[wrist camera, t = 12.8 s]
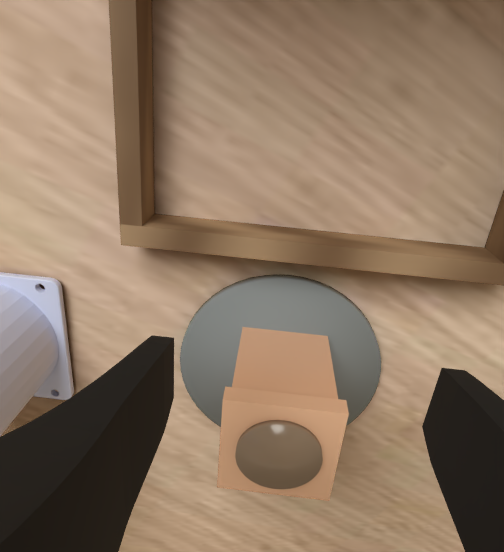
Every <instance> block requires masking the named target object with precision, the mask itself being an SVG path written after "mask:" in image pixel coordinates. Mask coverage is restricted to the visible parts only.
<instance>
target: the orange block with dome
mask: <svg viewBox="0 0 504 552" xmlns="http://www.w3.org/2000/svg"><path fill="white" fill-rule="evenodd" d="M348 416H349V412H348V407H347V401H346V400H341V399H338V394H337V388H336V382H335V376H334V370H333V364H332V358H331V352H330V346H329V340H328V336H324V335H314V334H305V333H296V332H286V331H277V330H268V329H258V328H249V327H242V333H241V338H240V344H239V350H238V355H237V361H236V366H235V372H234V378H233V383H232V387H225V391H224V395H223V402H222V418H221V433H220V449H219V464H218V480H217V487H219V488H227V489H236V490H244V491H252V492H260V493H269V494H277V495H285V496H294V497H302V498H310V499H319V500H327V501H329V499H330V494H331V490H332V486H333V481H334V477H335V473H336V468H337V464H338V459H339V455H340V451H341V446H342V442H343V438H344V433H345V429H346V424H347V420H348Z"/></svg>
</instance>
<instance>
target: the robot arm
mask: <svg viewBox="0 0 504 552" xmlns="http://www.w3.org/2000/svg"><path fill="white" fill-rule="evenodd" d="M39 284H42V285H43V286H44V287H45V289H42V288H41V287H40V285H39ZM54 389H55V390H57V391H58V392H57V391H55V390H54ZM73 394H74V386H73V378H72V369H71V361H70V352H69V344H68V335H67V327H66V318H65V310H64V301H63V293H62V286H61V284H60V282H59V281H58V280H56V279H54V278H49V277H39V276H30V275H21V274H12V273H2V272H0V436H1V435H2V434H3V432H4V431H5V430H6V429H7V427H8V426H9V425H10V424H11V423H12V421H13V420H14V419H15V418H16V416H17V415H18V414H19V413H20V411H21V410H22V409H23V408H24V406H25V405H26V404H27V403H28V402H29V400H30V399H31V398H32V397H33V396H35V397H43V398H52V399H60V400H67V401H65V402H63V403H62V404H60V405H59V406H57V407H55V408H54V409H52V410H50V411H49V412H47V413H45V414H43V415H42V416H40V417H38V418H36V419H35V420H33V421H31V422H29V423H27V424H26V425H24V426H22V427H20V428H18V429H16V430H14V431H12V432H10V433H8V434H6V435H4V436H2V437H0V552H118V551H119V548H120V545H121V541H122V538H123V535H124V532H125V528H126V525H127V523H128V520H129V517H130V515H131V512H132V509H133V507H134V504H135V502H136V499H137V497H138V494H139V492H140V490H141V487H142V485H143V482H144V480H145V477H146V475H147V473H148V470H149V468H150V465H151V463H152V461H153V458H154V456H155V453H156V451H157V448H158V446H159V443H160V441H161V438H162V436H163V433H164V431H165V427H166V424H167V420H168V417H169V413H170V409H171V405H172V402H173V398H174V338H170V337H161V336H151V337H149V338H148V339H147V340H146V341H144V342H143V343H142V344H141V345H139V346H138V347H137V348H136V349H135V350H133V351H132V352H131V353H130V354H128V355H127V356H126V357H125V358H124V359H122V360H121V361H120V362H119V363H117V364H116V365H115V366H114V367H112V368H111V369H110V370H108V371H107V372H106V373H105V374H103V375H102V376H101V377H99V378H98V379H97V380H95V381H94V382H93V383H91V384H90V385H88V386H87V387H85V388H84V389H83V390H81V391H80V392H78V393H77V394H76V395H74V396H73V397H72V395H73ZM422 427H423V432H424V436H425V441H426V445H427V449H428V453H429V457H430V461H431V464H432V467H433V470H434V472H435V475H436V478H437V480H438V483H439V485H440V488H441V491H442V493H443V496H444V498H445V501H446V503H447V506H448V509H449V511H450V514H451V516H452V519H453V521H454V524H455V526H456V529H457V532H458V534H459V537H460V539H461V542H462V544H463V547H464V549H465V552H504V400H503V399H501V398H500V397H499V396H498V395H496V394H495V393H494V392H493V391H491V390H490V389H489V388H488V387H486V386H485V385H484V384H483V383H481V382H480V381H479V380H478V379H476V378H475V377H474V376H472V375H471V374H469V373H468V372H467V371H465V370H456V369H447V368H442V369H441V372H440V375H439V378H438V381H437V384H436V387H435V390H434V393H433V396H432V399H431V402H430V405H429V408H428V411H427V414H426V417H425V420H424V423H423V426H422Z"/></svg>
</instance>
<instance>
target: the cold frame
mask: <svg viewBox="0 0 504 552" xmlns="http://www.w3.org/2000/svg"><path fill="white" fill-rule="evenodd" d="M109 15H110V35H111V55H112V75H113V95H114V115H115V135H116V155H117V175H118V195H119V215H120V235H121V245H125V246H135V247H144V248H154V249H163V250H173V251H182V252H192V253H201V254H211V255H220V256H230V257H239V258H249V259H258V260H268V261H277V262H287V263H296V264H306V265H315V266H325V267H334V268H344V269H353V270H363V271H372V272H382V273H391V274H401V275H410V276H420V277H429V278H439V279H448V280H458V281H467V282H477V283H486V284H496V285H504V192H503V195H502V198H501V201H500V204H499V207H498V210H497V213H496V216H495V219H494V222H493V225H492V228H491V231H490V234H489V237H488V240H487V242H486V245H485V248H482V247H472V246H462V245H453V244H443V243H433V242H423V241H414V240H404V239H394V238H384V237H375V236H365V235H355V234H345V233H336V232H326V231H316V230H306V229H297V228H287V227H277V226H267V225H258V224H248V223H238V222H228V221H219V220H209V219H199V218H189V217H180V216H170V215H160V214H155V209H154V137H153V65H152V0H109Z"/></svg>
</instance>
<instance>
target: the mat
mask: <svg viewBox="0 0 504 552" xmlns="http://www.w3.org/2000/svg"><path fill="white" fill-rule="evenodd" d="M242 327H249V328H258V329H268V330H277V331H286V332H296V333H305V334H314V335H324V336H328V340H329V346H330V352H331V358H332V364H333V370H334V376H335V382H336V388H337V394H338V399H341V400H346V401H347V407H348V412H349V416H348V420H347V424H346V426H347V425H348V424H349V423H351V422H352V421H353V420H354V419H356V418H357V417H358V416H359V415H360V413H361V412H362V411H363V410H364V409H365V408H366V406H367V405H368V404H369V402H370V401H371V399H372V397H373V395H374V393H375V391H376V388H377V385H378V382H379V378H380V372H381V357H380V350H379V346H378V343H377V340H376V337H375V334H374V331H373V329H372V327H371V325H370V323H369V321H368V320H367V318H366V317H365V316H364V314H363V313H362V311H361V310H360V309H359V308H358V307H357V306H356V305H355V304H354V303H353V302H352V301H351V300H349V299H348V298H347V297H346V296H344V295H343V294H342V293H340V292H338V291H337V290H335V289H333V288H332V287H330V286H327V285H325V284H323V283H320V282H318V281H315V280H311V279H308V278H304V277H298V276H292V275H264V276H258V277H253V278H248V279H245V280H242V281H239V282H236V283H234V284H232V285H230V286H228V287H226V288H224V289H222V290H221V291H219V292H218V293H216V294H214V295H213V296H212V297H211V298H210V299H209V300H207V301H206V302H205V303H204V304H203V305H202V306H201V308H200V309H199V310H198V311H197V312H196V314H195V315H194V317H193V319H192V320H191V322H190V324H189V326H188V329H187V331H186V333H185V336H184V339H183V343H182V347H181V355H180V365H181V373H182V377H183V381H184V384H185V386H186V389H187V391H188V393H189V394H190V396H191V398H192V400H193V401H194V402H195V404H196V405H197V406H198V408H199V409H200V410H201V411H202V412H203V413H204V414H205V415H206V416H207V417H208V418H209V419H211V420H212V421H213V422H214V423H216V424H217V425H219V426H220V427H221V418H222V402H223V395H224V391H225V387H232V383H233V378H234V372H235V366H236V361H237V355H238V350H239V344H240V338H241V333H242Z"/></svg>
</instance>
